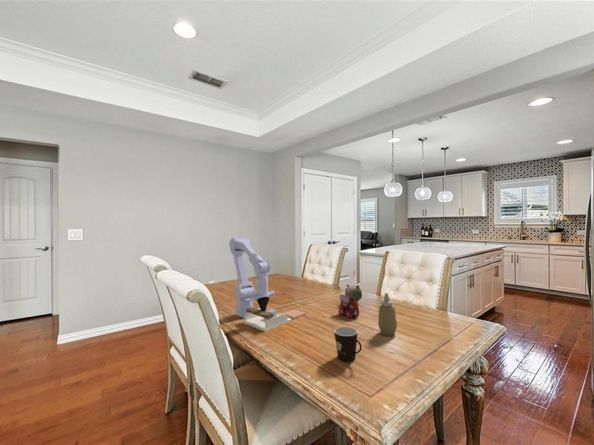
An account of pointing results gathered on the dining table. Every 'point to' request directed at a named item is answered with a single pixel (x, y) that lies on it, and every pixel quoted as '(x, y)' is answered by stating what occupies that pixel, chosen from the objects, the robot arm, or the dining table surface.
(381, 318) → the squeeze bottle
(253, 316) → the puzzle board
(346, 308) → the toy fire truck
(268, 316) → the sliding bar
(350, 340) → the coffee mug
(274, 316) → the slate block
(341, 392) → the dining table surface
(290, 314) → the salmon pink tile
